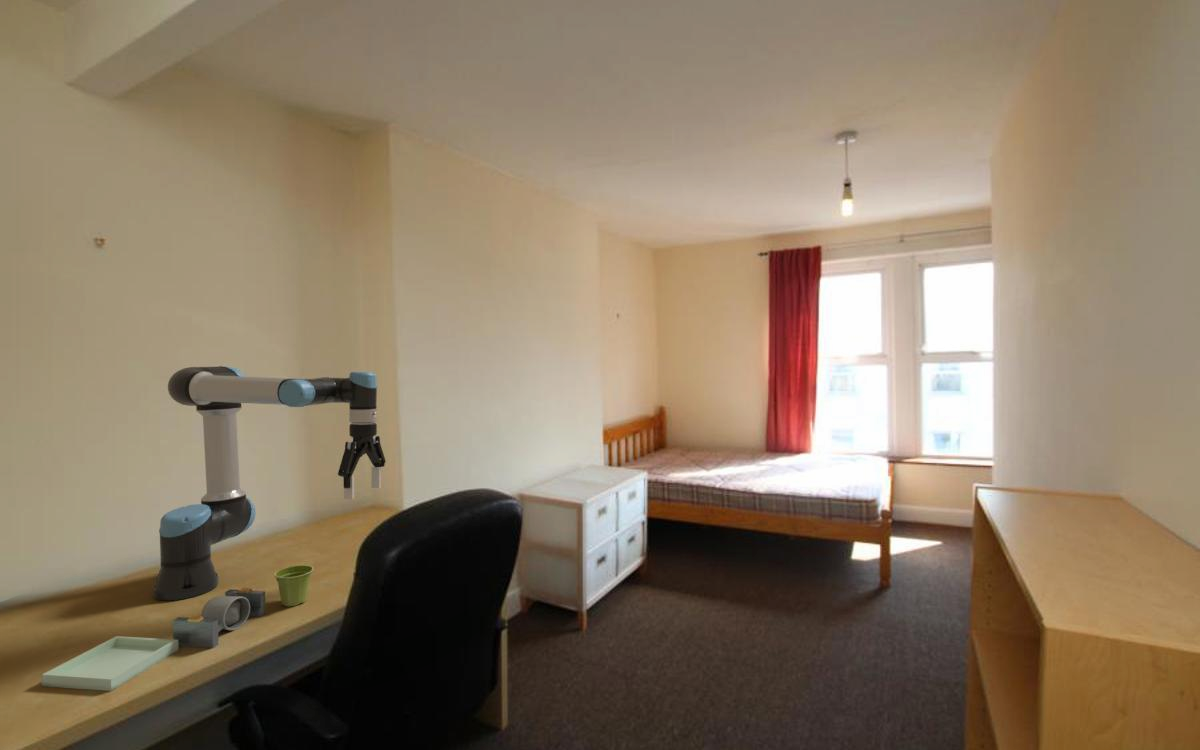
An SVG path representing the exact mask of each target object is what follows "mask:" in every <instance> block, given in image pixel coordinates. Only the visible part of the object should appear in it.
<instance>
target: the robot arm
mask: <svg viewBox="0 0 1200 750" xmlns="http://www.w3.org/2000/svg"><path fill="white" fill-rule="evenodd" d="M348 376H349V377H346V378H345V377H329V376H326V377H325V376H324V377H323V376H321V377H315V378H284V377H283V378H282V377H281V378H280V377H262V376H261V377H259V376H246V375H245V374H244V373H243V372H242V371H241V370H239V369H237V368H236V367H232V366H231V367H230V366H222V365H220V366H219V365H218V366H190V367H185V368H181V369H180V370H177V371H176V372H174V373H173V374H172V375H171V377H170V379H169V380H168V383H167V391H168V394H169V396H170V398H171V399H172V400H174V401H175V402H176V403H178V404H180V405H183V406H187V407H192V406H193V407H196V409H195V410H196V412H197V413H198V414H200V415H201V416H202V424H203V425H202V427H203V445H204V447H203V448H204V463H205V484H206V493H205V495H204V494H203V495H204V496H202V497H201V498H200V504H199V503H197V504H196V503H195V504H190V505H187V506H186V505H185V506H180V507H178V508H174V509H173V510H170V511H167V512H166V513H164V515H162V517H161V519H160V526H159V530H158V533H159V546H160V547H159V552H160V558H159V559H160V569H159V571H158V574H157V577H156V579H155V584H154V585H153V588H152V597H153V599H155V600H157V601H164V602H165V601H168V602H169V601H179V600H184V599H190V598H193V597H197V596H200V595H203V594H205V593H208V592H210V591H213V590H214V589H215V588H217V586H218V585H219V575H218V573H217V571H216V569H215V567H214V564H213V561H212V551H211V550H212V548H211V547H212V546H213V545H215V544H217V543H220V542H221V543H222V542H223V541H225V540H228V539H231V538H235V537H236V536H239V535H241V534H242V533H244V532H247V530H248V529H250V527H251V526H252V525H253V523H254V521H255V519H256V507H255V505H254V503H253V502H252V500H251V499H250V498H249V497H247V493H246V491H244V490H243V489H242V488H241V487H240V486H241V485H240V484H241V483H240V465H239V463H240V462H239V449H238V448H239V446H238V445H239V444H238V429H237V428H238V425H237V413H238V412H240V410H242V404H257V405H258V404H259V405H262V404H263V405H279V406H280V405H281V406H287V407H289V408H290V407H291V408H303V407H309V406H315V405H321V404H322V405H325V404H334V403H335V404H336V403H337V404H339V403H342V404H343V403H344V404H345V403H346V404H349V405H348V406H349V411H348V412H349V413H348V414H349V419H348V420H349V421H348V422H349V423H350V424H349V425H348V426H349V436H350V437H351V438H352V441H346V442H345V443H344V444H345V445H344V451H343V455H342V457H341V462H340V464H339V468H338V472H337V476H339V477H341V478H343V499H344V500H354V499H355V476H354V475H353V474H354V471H355V469H356V467H357V465H358V463H359V461H360V459H361V457H363V455H366V456H367V457H368V459H369V461H370V463H371V464H372V465H373V466H371V488H372V489H381V488H382V486H381V485H382V484H381V483H382V482H381V481H382V480H381V479H382V467H385V466H386V465H385V464H386V458H385V455H384V452H383V448H382V445H381V437H380V436H379V435H377V433H378V430H377V428H378V427H377V425H378V424H377V423H376V422H377V415H378V413H377V392H378V391H377V390H378V384H377V381H378V380H377V375H376V373H375V372H374V371H351V372H350V373H349V375H348Z"/></svg>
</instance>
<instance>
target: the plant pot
mask: <svg viewBox="0 0 1200 750" xmlns="http://www.w3.org/2000/svg"><path fill="white" fill-rule="evenodd" d="M313 571H314V567H313V566H311V565H308V564H298V565H291V566H287V567H283V568H280V569H279V570H277V571H275V572H274V578H276V582H277V583H278V585H277V587H278V591H279V597H280V602H281V606H284V607H295V606H299V605H300V604H301V603H302V604H303V603H305V602H306V601H308V600H307V599H308V595H309V594H308V593H309V586H310V581H311V576H312V573H313Z"/></svg>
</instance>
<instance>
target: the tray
mask: <svg viewBox="0 0 1200 750" xmlns="http://www.w3.org/2000/svg"><path fill="white" fill-rule="evenodd" d="M177 651H179V646H178V640H174V639H173V638H172V639H171V638H155V637H141V636H140V637H139V636H137V637H136V636H119V635H116V636H114V637H111V638H110V639H108V640H105V642H102V643H101V644H98V645H96V646H94V647H93V648H91V649H89V650H86V651H85V652H82V653H81V654H79V655H77V656H75V657H74V658H73V657H72V658H71V659H70V660H67V661H66V662H63V663H61V664H60V665H58V666H55V667H54V668H52V669H50V670H48V671H46V672H44V673H42V674H41V686H42V687H46V688H47V687H49V688H65V689H77V690H79V689H80V690H93V691H107V692H112V691H115V689H117V688H119V687H120V686H122V685H124V684H125V683H127V682H128V681H130V680H132V679H133V678H135V677H137V676H138V675H140V674H142V673H144V672H145V671H146V670H148V669H150V668H151V667H153V666H155V665H157V664H158V663H160V662H161V661H163V660H164V659H166V658H167V657H169V656H171V655H172V654H174V653H176V652H177Z"/></svg>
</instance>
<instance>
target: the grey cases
mask: <svg viewBox="0 0 1200 750" xmlns="http://www.w3.org/2000/svg"><path fill="white" fill-rule="evenodd" d="M224 596H241V597H245V598H247V599H248V601H249V603H250V613H249V616H248V617H263V616H264V615H266V591H265V590H253V588H246V587H243V588H241V589H228V590H227V591H224ZM172 639H174V640H178V647H188V648H189V647H190V648H191V647H192V648H205V649H214V648H215V647H218V645H219V632H218V619H203V616H201V615H193V616H190V617H182V616H179V617H177V618H175V619H173V620H172Z"/></svg>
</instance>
